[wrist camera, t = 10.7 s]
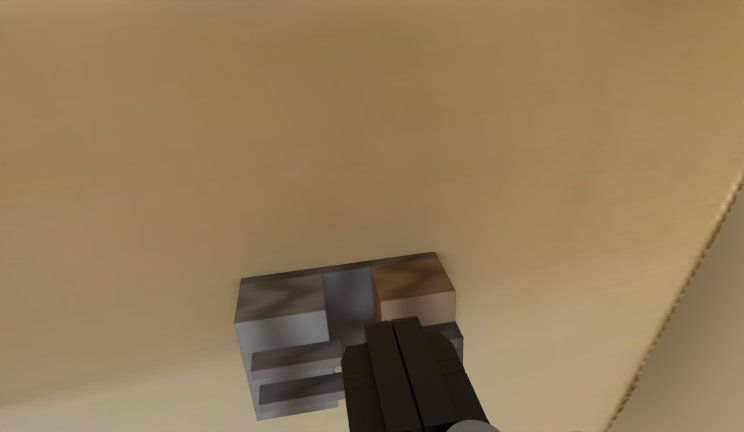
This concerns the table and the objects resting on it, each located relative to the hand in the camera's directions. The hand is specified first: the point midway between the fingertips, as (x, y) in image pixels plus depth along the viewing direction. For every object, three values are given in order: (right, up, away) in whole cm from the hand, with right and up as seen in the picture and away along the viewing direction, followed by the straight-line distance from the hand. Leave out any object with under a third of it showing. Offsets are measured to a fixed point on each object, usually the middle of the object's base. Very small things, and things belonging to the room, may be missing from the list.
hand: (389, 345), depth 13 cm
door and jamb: (-3, -7, +39) cm, 39 cm away
